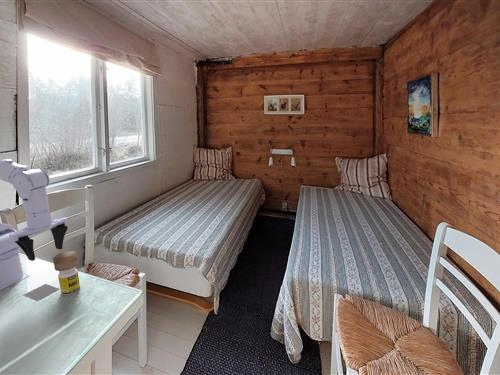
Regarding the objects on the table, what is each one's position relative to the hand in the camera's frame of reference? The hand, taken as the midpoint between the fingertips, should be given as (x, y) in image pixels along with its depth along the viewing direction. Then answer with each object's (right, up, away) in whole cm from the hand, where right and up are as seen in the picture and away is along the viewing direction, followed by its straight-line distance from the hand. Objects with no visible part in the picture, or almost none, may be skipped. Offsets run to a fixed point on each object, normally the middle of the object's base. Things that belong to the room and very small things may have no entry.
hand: (46, 254), depth 80 cm
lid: (+8, -3, -3) cm, 9 cm away
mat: (0, -11, -2) cm, 11 cm away
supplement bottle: (+8, -11, -1) cm, 14 cm away
